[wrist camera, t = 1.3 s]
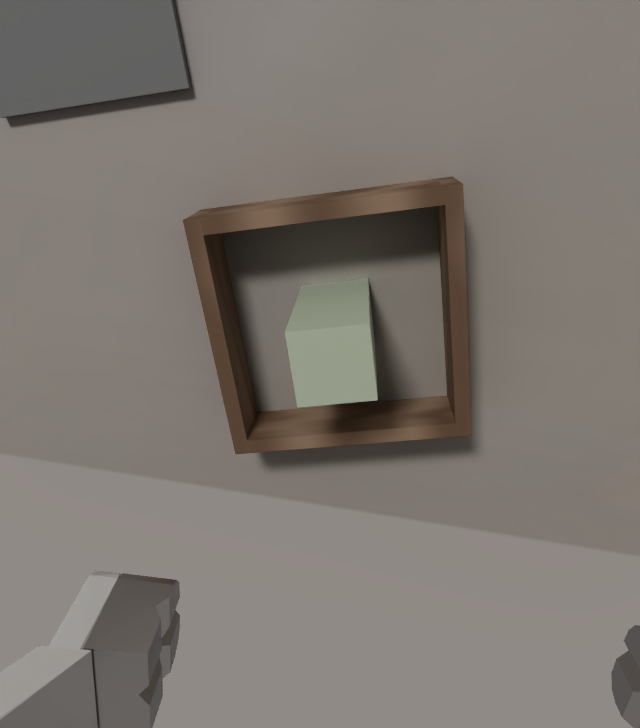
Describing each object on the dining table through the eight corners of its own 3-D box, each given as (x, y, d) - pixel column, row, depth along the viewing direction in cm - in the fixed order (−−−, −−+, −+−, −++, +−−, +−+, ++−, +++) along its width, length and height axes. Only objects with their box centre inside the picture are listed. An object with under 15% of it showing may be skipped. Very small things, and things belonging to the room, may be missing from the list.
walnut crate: (452, 176, 35) (463, 183, 31) (461, 406, 41) (471, 435, 37) (200, 209, 37) (182, 220, 33) (246, 425, 43) (235, 454, 39)
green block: (368, 278, 38) (369, 323, 30) (374, 340, 39) (377, 400, 31) (301, 285, 38) (284, 332, 30) (310, 347, 40) (297, 407, 32)
